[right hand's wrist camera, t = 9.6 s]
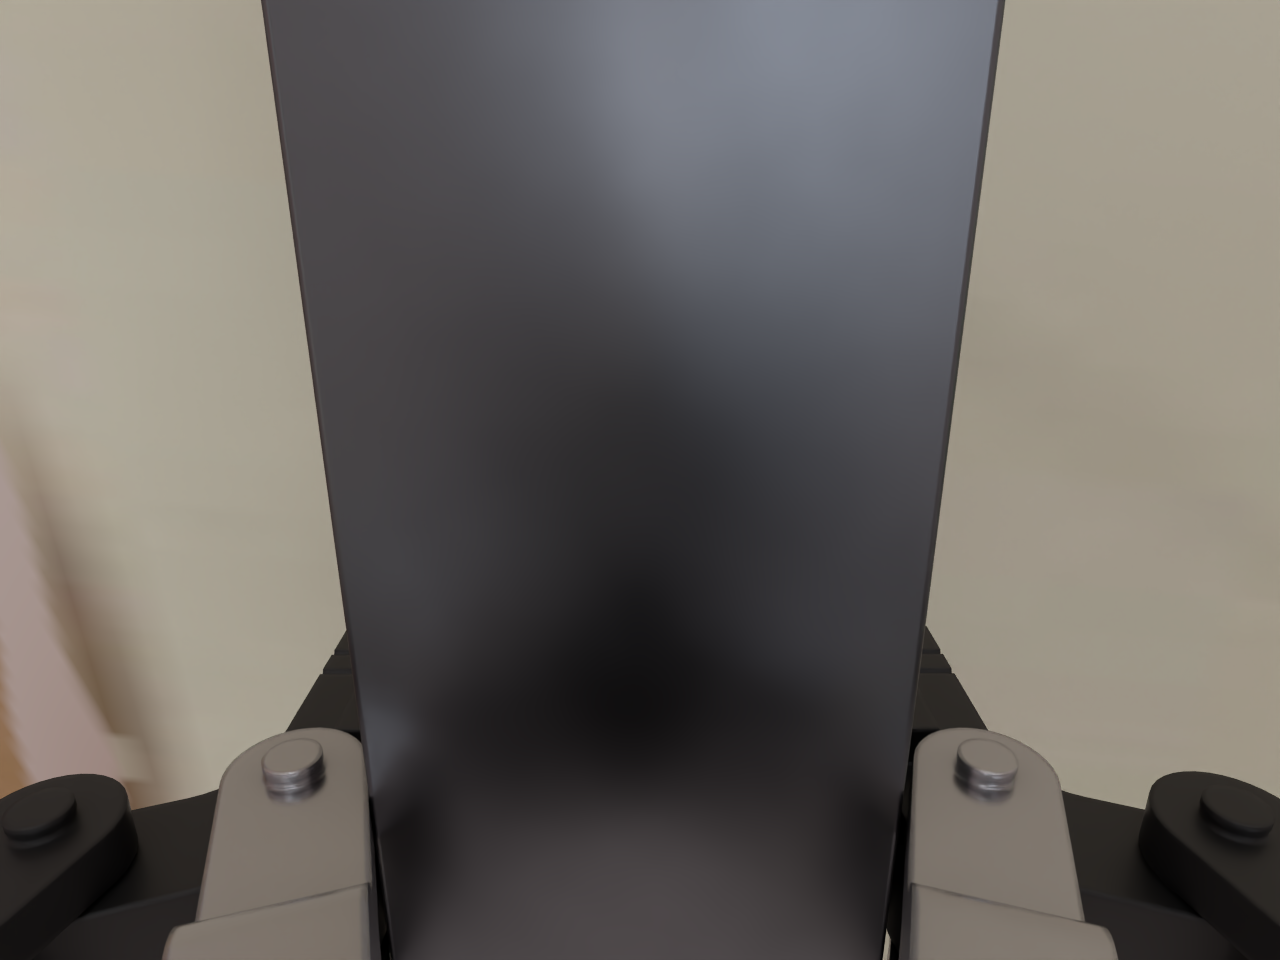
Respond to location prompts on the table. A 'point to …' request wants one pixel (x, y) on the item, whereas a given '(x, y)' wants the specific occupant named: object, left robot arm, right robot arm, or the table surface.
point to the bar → (634, 447)
